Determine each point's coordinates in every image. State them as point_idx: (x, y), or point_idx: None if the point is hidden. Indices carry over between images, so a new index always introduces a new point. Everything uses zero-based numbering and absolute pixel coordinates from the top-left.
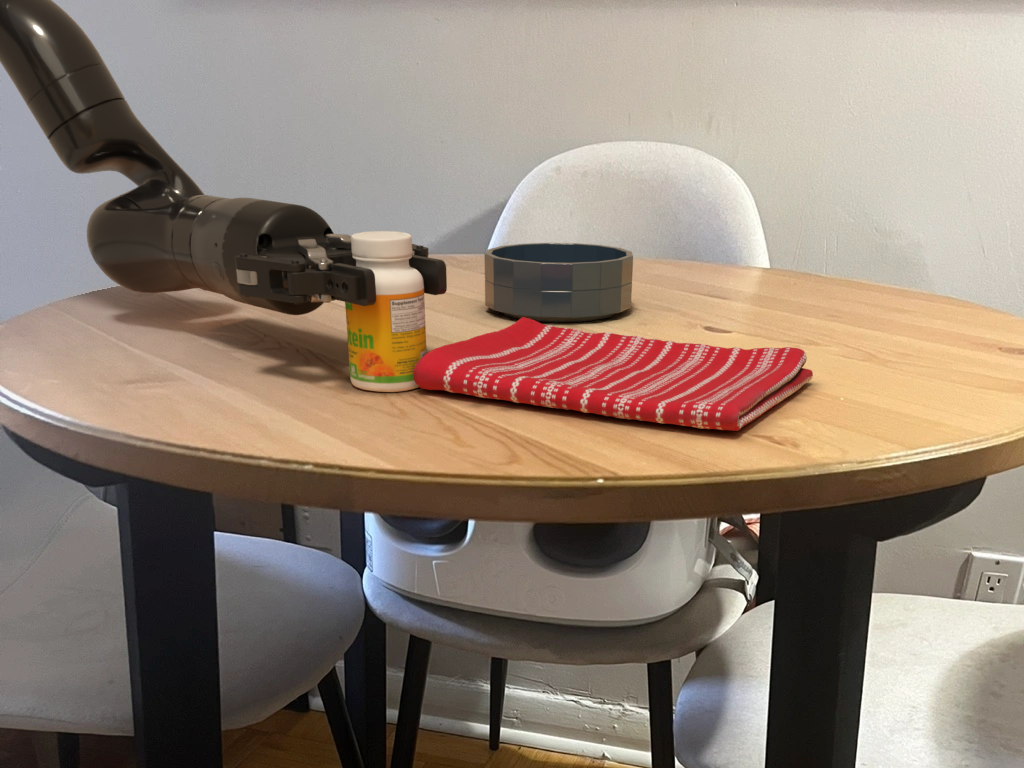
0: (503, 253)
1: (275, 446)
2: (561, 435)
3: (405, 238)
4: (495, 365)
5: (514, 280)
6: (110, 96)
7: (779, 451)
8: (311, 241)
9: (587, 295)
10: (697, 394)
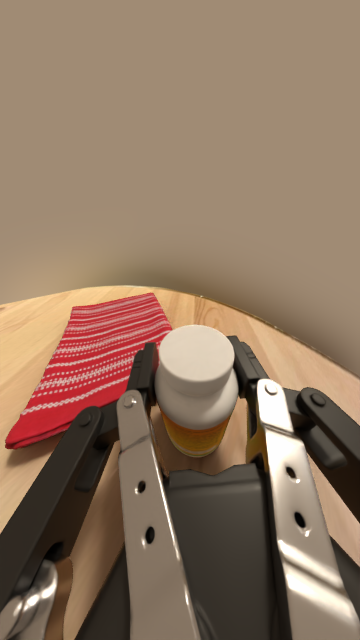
0: None
1: (290, 348)
2: (183, 315)
3: (183, 326)
4: None
5: None
6: None
7: (153, 293)
8: (298, 567)
9: None
10: (135, 306)
